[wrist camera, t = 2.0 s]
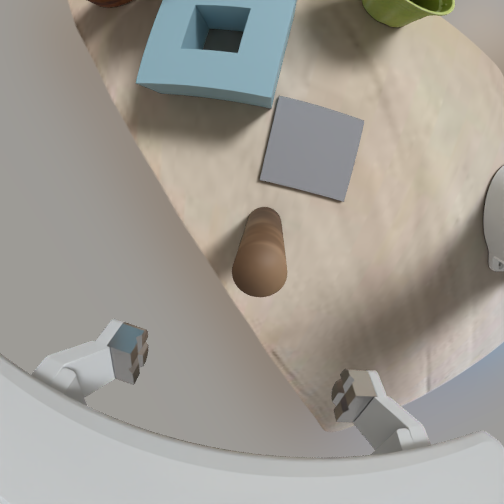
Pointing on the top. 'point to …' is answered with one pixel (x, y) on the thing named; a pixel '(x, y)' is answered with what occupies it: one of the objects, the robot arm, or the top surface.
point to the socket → (218, 62)
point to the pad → (311, 148)
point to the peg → (261, 255)
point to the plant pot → (406, 10)
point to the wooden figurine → (109, 2)
